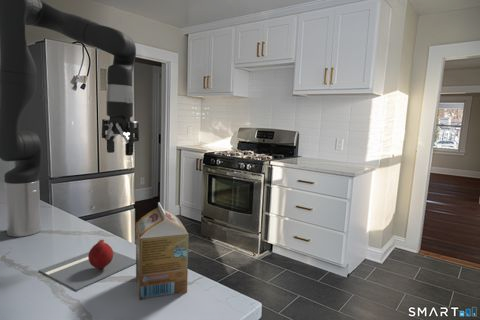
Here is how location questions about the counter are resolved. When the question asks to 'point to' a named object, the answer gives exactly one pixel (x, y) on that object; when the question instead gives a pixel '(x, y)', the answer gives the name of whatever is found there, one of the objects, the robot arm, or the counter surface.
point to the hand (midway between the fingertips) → (119, 154)
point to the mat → (85, 270)
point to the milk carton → (161, 255)
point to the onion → (100, 255)
